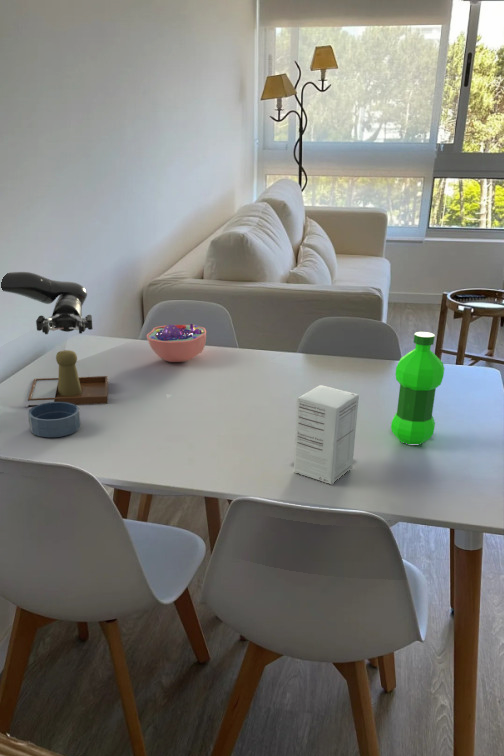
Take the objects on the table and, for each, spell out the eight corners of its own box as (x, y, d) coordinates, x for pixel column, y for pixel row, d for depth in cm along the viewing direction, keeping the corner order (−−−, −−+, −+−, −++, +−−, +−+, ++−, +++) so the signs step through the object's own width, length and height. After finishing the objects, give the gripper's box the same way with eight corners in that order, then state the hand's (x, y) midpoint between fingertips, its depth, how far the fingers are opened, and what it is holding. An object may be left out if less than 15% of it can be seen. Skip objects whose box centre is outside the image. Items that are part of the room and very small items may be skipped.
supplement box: (315, 457, 152) (320, 383, 145) (353, 468, 148) (360, 393, 140) (291, 473, 145) (295, 396, 138) (331, 486, 141) (337, 407, 133)
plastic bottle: (378, 438, 162) (390, 332, 151) (410, 428, 168) (423, 325, 157) (411, 454, 155) (426, 344, 144) (443, 443, 160) (459, 336, 150)
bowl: (28, 440, 157) (25, 421, 155) (33, 420, 167) (31, 402, 165) (79, 437, 159) (77, 419, 157) (81, 418, 169) (80, 400, 167)
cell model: (220, 355, 215) (220, 319, 210) (181, 373, 199) (180, 334, 194) (175, 346, 223) (174, 310, 218) (134, 362, 207) (132, 325, 202)
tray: (28, 407, 175) (27, 399, 174) (34, 385, 188) (34, 378, 187) (107, 403, 178) (107, 396, 177) (108, 382, 191) (107, 375, 190)
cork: (56, 397, 180) (52, 355, 175) (58, 388, 185) (54, 348, 180) (81, 396, 181) (77, 354, 176) (82, 387, 186) (78, 347, 181)
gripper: (39, 301, 192) (32, 316, 178) (92, 300, 194) (90, 315, 180) (42, 328, 195) (35, 345, 181) (94, 327, 198) (92, 343, 183)
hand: (63, 330), depth 180 cm, fingers open, 8 cm apart
